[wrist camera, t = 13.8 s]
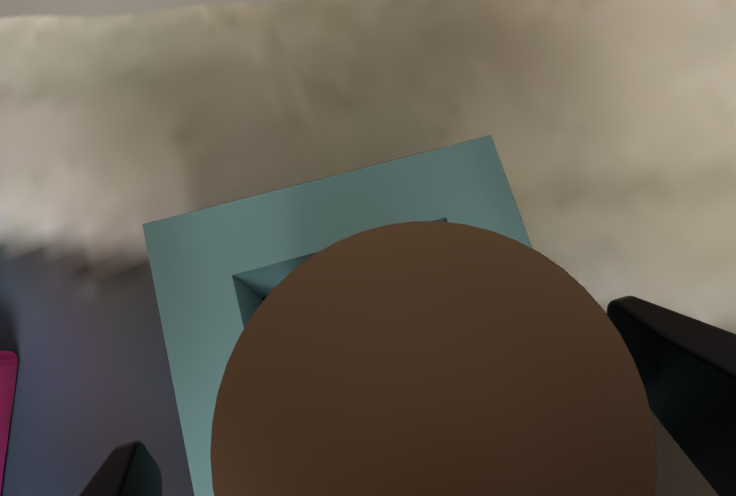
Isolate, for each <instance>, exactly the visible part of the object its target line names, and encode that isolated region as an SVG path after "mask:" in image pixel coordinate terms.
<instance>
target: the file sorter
mask: <svg viewBox="0 0 736 496" xmlns="http://www.w3.org/2000/svg"><path fill="white" fill-rule="evenodd" d="M17 367H18V358H17V355H16V354H15V353H13V352H11V351H0V495H1V487H2V479H3V471H4V463H5V456H6V449H7V441H8V433H9V426H10V419H11V411H12V404H13V397H14V390H15V382H16V375H17Z"/></svg>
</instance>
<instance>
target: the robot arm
mask: <svg viewBox="0 0 736 496" xmlns="http://www.w3.org/2000/svg"><path fill="white" fill-rule="evenodd" d="M607 316H608V317H609V319H610V320H611V321H612V323H613V324H614V326H615V327H616V329H617V330H618V332H619V333H620V335H621V337H622V339H623V341H624V342H625V344H626V346H627V348H628V350H629V352H630V354H631V356H632V357H633V360H634V362H635V365H636V367H637V370H638V372H639V375H640V377H641V380H642V383H643V385H644V388H645V392H646V396H647V400H648V404H649V407H650V409H651V411H652V412H653V413H654V415H655V416H656V417H657V419H658V420H659V421H660V423H661V424H662V425H663V426H664V428H665V429H666V430H667V431H668V433H669V434H670V435H671V436H672V438H673V439H674V440H675V441H676V443H677V444H678V445H679V446H680V448H681V449H682V450H683V451H684V453H685V454H686V455H687V456H688V458H689V459H690V460H691V461H692V463H693V464H694V465H695V466H696V468H697V469H698V470H699V471H700V473H701V474H702V475H703V476H704V478H705V479H706V480H707V481H708V483H709V484H710V485H711V486H712V488H713V489H714V490H715V492H716V493H717V494H718V495H719V496H736V334H734V333H731V332H728V331H726V330H723V329H720V328H718V327H715V326H712V325H709V324H707V323H704V322H701V321H699V320H696V319H693V318H691V317H688V316H685V315H682V314H680V313H677V312H674V311H672V310H669V309H666V308H664V307H661V306H658V305H655V304H653V303H650V302H647V301H645V300H642V299H639V298H637V297H633V296H625V297H622V298H619V299H615V300H612V301H610V303H609V304H608V307H607ZM79 496H162V474H161V470H160V468H159V466H158V464H157V463H156V461H155V460H154V458H153V457H152V455H151V454H150V452H149V451H148V450H147V448H146V447H145V445H144V444H143V443H142V442H140V441H134V442H130V443H127V444H124V445H120V446H118V447H116V448H115V449H114V450H113V451H112V452H111V453H110V454H109V456H108V457H107V459H106V460H105V461H104V463H103V464H102V465H101V467H100V468H99V469H98V471H97V472H96V473H95V475H94V476H93V477H92V479H91V480H90V482H89V483H88V484H87V486H86V487H85V488H84V490H83V491H82V492H81V494H80V495H79Z"/></svg>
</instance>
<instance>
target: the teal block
mask: <svg viewBox="0 0 736 496" xmlns="http://www.w3.org/2000/svg"><path fill="white" fill-rule="evenodd" d="M412 221H443V222H451V223H459V224H467V225H471V226H475V227H479V228H483V229H487V230H491V231H494V232H496V233H499V234H501V235H504V236H506V237H509V238H512V239H514V240H517V241H519V242H521V243H522V244H524V245H526V246H528V247H530V248H532V246H531V244H530V241H529V238H528V235H527V233H526V230H525V227H524V225H523V222H522V219H521V216H520V214H519V211H518V208H517V206H516V203H515V200H514V197H513V195H512V192H511V189H510V187H509V184H508V181H507V178H506V176H505V173H504V170H503V168H502V165H501V162H500V159H499V157H498V154H497V151H496V149H495V146H494V143H493V140H492V138H491V135H490V136H486V137H482V138H478V139H474V140H470V141H466V142H462V143H458V144H454V145H451V146H447V147H443V148H439V149H435V150H431V151H427V152H423V153H419V154H415V155H412V156H408V157H404V158H400V159H396V160H392V161H388V162H384V163H380V164H376V165H372V166H369V167H365V168H361V169H357V170H353V171H349V172H345V173H341V174H337V175H333V176H329V177H326V178H322V179H318V180H314V181H310V182H306V183H302V184H298V185H294V186H290V187H286V188H283V189H279V190H275V191H271V192H267V193H263V194H259V195H255V196H251V197H247V198H244V199H240V200H236V201H232V202H228V203H224V204H220V205H216V206H212V207H208V208H204V209H201V210H197V211H193V212H189V213H185V214H181V215H177V216H173V217H169V218H165V219H161V220H158V221H154V222H150V223H146V224H143V229H144V234H145V240H146V245H147V250H148V255H149V260H150V266H151V271H152V276H153V281H154V287H155V292H156V297H157V302H158V307H159V313H160V318H161V323H162V328H163V333H164V339H165V344H166V349H167V354H168V360H169V365H170V370H171V375H172V380H173V386H174V391H175V396H176V401H177V407H178V412H179V417H180V422H181V427H182V433H183V438H184V443H185V448H186V453H187V459H188V464H189V469H190V474H191V480H192V485H193V490H194V495H195V496H214V492H213V487H212V473H211V459H210V451H211V432H212V421H213V415H214V410H215V404H216V399H217V393H218V390H219V387H220V384H221V380H222V377H223V374H224V371H225V368H226V364H227V362H228V360H229V358H230V356H231V353H232V351H233V349H234V347H235V345H236V342H237V340H238V338H239V336H240V335H241V333H242V331H243V330H244V328H245V326H246V325H247V323H248V322H249V320H250V318H251V317H252V315H253V313H254V312H255V311H256V310H257V308H258V307H259V306H260V305H261V303H262V302H263V299H262V297H265V296H268V295H269V293H270V292H271V291H272V290H273V289H274V288H275V287H276V286H277V285H278V284H279V283H280V282H281V281H282V280H283V279H284V278H285V277H286V276H287V275H288V274H289V273H290V272H291V271H293V270H294V269H295V268H297V267H298V266H299V265H301V264H302V263H303V262H305V261H306V260H307V259H309V258H310V257H311V256H313V255H314V254H316V253H318V252H320V251H321V250H323V249H325V248H327V247H328V246H330V245H332V244H334V243H335V242H337V241H340V240H342V239H345V238H347V237H349V236H352V235H354V234H357V233H359V232H362V231H366V230H369V229H373V228H377V227H381V226H384V225H389V224H397V223H404V222H412Z"/></svg>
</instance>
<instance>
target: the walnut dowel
mask: <svg viewBox="0 0 736 496" xmlns="http://www.w3.org/2000/svg"><path fill="white" fill-rule="evenodd" d="M210 459H211V473H212V487H213V492H214V496H654V495H655V486H656V443H655V436H654V429H653V422H652V415H651V411H650V407H649V404H648V400H647V396H646V392H645V388H644V385H643V383H642V380H641V377H640V375H639V372H638V370H637V367H636V365H635V362H634V360H633V357H632V356H631V354H630V352H629V350H628V348H627V346H626V344H625V342H624V341H623V339H622V337H621V335H620V333H619V332H618V330H617V329H616V327H615V326H614V324H613V323H612V321H611V320H610V319H609V317H608V316H607V314H606V313H605V311H604V310H603V309H602V307H601V306H600V305H599V304H598V303H597V302H596V301H595V300H594V298H593V297H592V296H591V295H590V294H589V293H588V292H587V290H586V289H585V288H584V287H583V286H582V285H581V284H579V283H578V282H577V281H576V280H575V279H574V278H573V277H572V276H570V275H569V274H568V273H567V272H566V271H565V270H564V269H562V268H561V267H560V266H558V265H557V264H555V263H554V262H552V261H551V260H550V259H548V258H547V257H545V256H544V255H542V254H541V253H539V252H537V251H536V250H534V249H532V248H530V247H528V246H526V245H524V244H522V243H521V242H519V241H517V240H514V239H512V238H509V237H506V236H504V235H501V234H499V233H496V232H494V231H491V230H487V229H483V228H479V227H475V226H471V225H467V224H459V223H451V222H443V221H412V222H404V223H397V224H389V225H384V226H381V227H377V228H373V229H369V230H366V231H362V232H359V233H357V234H354V235H352V236H349V237H347V238H345V239H342V240H340V241H337V242H335V243H334V244H332V245H330V246H328V247H327V248H325V249H323V250H321V251H320V252H318V253H316V254H314V255H313V256H311V257H310V258H309V259H307V260H306V261H305V262H303V263H302V264H301V265H299V266H298V267H297V268H295V269H294V270H293V271H291V272H290V273H289V274H288V275H287V276H286V277H285V278H284V279H283V280H282V281H281V282H280V283H279V284H278V285H277V286H276V287H275V288H274V289H273V290H272V291H271V292H270V293H269V295H268V296H267V297H266V298H265V300H264V301H263V302H262V303H261V305H260V306H259V307H258V308H257V310H256V311H255V312H254V313H253V315H252V317H251V318H250V320H249V322H248V323H247V325H246V326H245V328H244V330H243V331H242V333H241V335H240V336H239V338H238V340H237V342H236V345H235V347H234V349H233V351H232V353H231V356H230V358H229V360H228V362H227V364H226V368H225V371H224V374H223V377H222V380H221V384H220V387H219V390H218V393H217V399H216V404H215V410H214V415H213V421H212V432H211V451H210Z"/></svg>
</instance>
